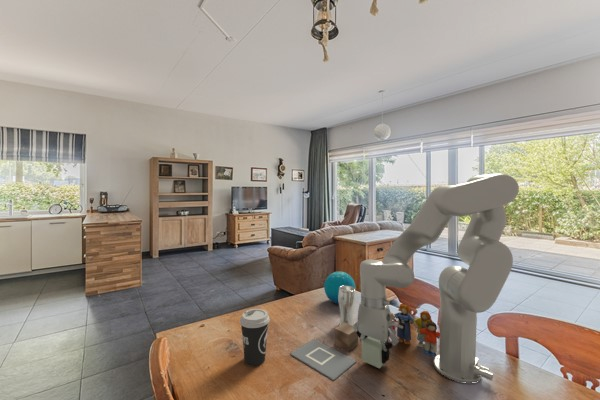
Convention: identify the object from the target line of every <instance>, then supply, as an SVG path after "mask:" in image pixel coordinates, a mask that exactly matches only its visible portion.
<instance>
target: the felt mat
mask: <svg viewBox="0 0 600 400" xmlns="http://www.w3.org/2000/svg"><path fill="white" fill-rule="evenodd" d="M289 355H290V356H292V357H294V358H296V359H297V360H299V361H300V362H302V363H303V364H306V365H307V366H309V367H310V368H312V369H313V370H315V371H317V372H319V373H320V374H322V375H323V376H324V377H325V376H326V377H327V378H329V379H330V380H332V381H335V380H337V379H339V377H341V376H342V375H343V374H344V373H345V372H346V371H348V370H349V369H350V368H352V367H353V365H355V364H356V363H357V361H358V360H357V359H354V358H352V357H350V356H348V355H346V354H344V353H343V352H340V351H338V350H337V349H334V348H332V347H329V346H328V345H326V344H324V343H322V342H320V341H318V340H316V339H312V340H310V341H308V342H306V343H305V344H303V345H301V346H300V347H299V348H297V349H295V350H293V351H292V352H290V354H289Z"/></svg>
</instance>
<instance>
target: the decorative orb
mask: <svg viewBox="0 0 600 400" xmlns="http://www.w3.org/2000/svg"><path fill="white" fill-rule="evenodd" d="M341 286H352V287H354V288H355V289H356V283H355V280H354V279H353V277H352V276H351V275H350V274H349V273H347V272H346V271H345V272H344V271H340V270H339V271H334V272H332V273H330V274H329V275H328V276H327V277H326V279H325V281H324V285H323V287H324V292H325V295H326V298H328V300H330V301H331V302H333V303H334V304H337V305H339V302H338V295H339V287H341Z"/></svg>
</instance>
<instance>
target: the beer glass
mask: <svg viewBox="0 0 600 400" xmlns="http://www.w3.org/2000/svg"><path fill="white" fill-rule="evenodd" d="M356 296H357V295H356V287H355V288H354V287H352V286H341V287H339V295H338V302H339V304H338V309H339V315H340V316H339V317H340V318H339V321H338V326H339V325H341V324H343V323H347V324H349V325H352V326H353V325H354V324H355V319H354V316H355V315H354V314H355V309H356V302H357V297H356Z"/></svg>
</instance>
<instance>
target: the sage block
mask: <svg viewBox="0 0 600 400" xmlns="http://www.w3.org/2000/svg"><path fill="white" fill-rule="evenodd" d="M360 342H361V341H360ZM360 350H361V362H365V363H366V364H369V365H371V366H373V367H375V368H378V369H381V368H382V367H383V366H384V364H383V363H382V350H383V348H382V345H381V342H380V341H379V340H376V339H374V338H371V337H367V338H365V339H364V340H363V341H362V342H361V349H360Z"/></svg>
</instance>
